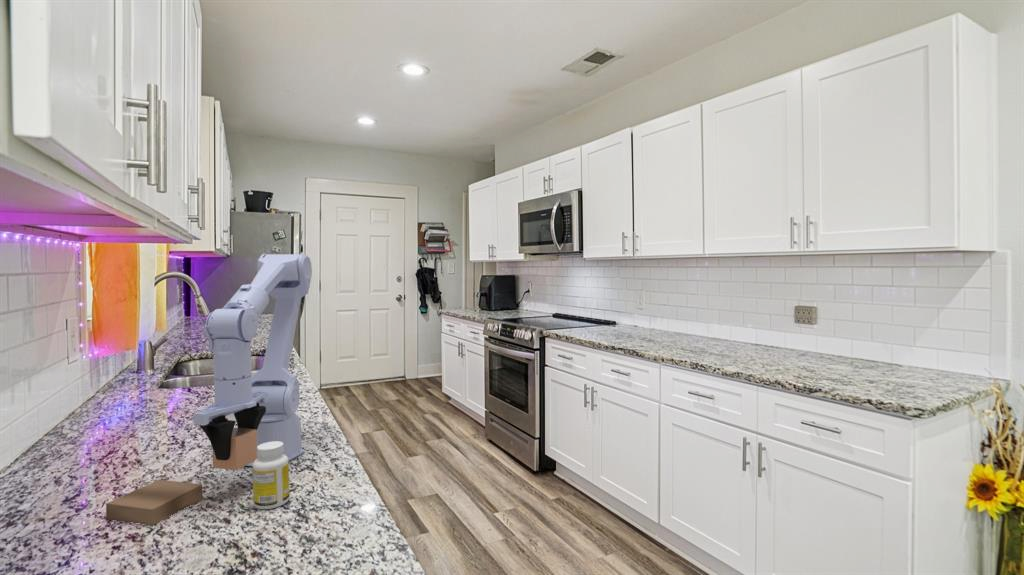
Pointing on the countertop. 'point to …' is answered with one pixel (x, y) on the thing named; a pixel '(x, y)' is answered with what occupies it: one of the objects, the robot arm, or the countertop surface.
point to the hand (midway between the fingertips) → (235, 453)
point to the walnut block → (154, 502)
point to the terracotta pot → (239, 450)
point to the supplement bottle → (270, 476)
